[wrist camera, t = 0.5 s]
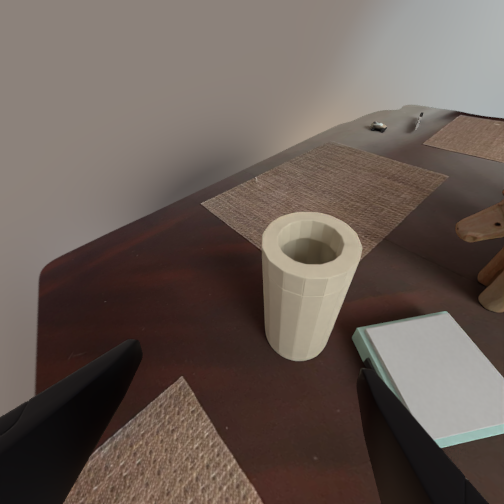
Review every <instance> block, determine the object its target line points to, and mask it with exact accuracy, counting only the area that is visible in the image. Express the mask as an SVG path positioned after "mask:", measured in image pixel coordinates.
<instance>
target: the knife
mask: <svg viewBox="0 0 504 504" xmlns="http://www.w3.org/2000/svg"><path fill="white" fill-rule="evenodd" d="M422 116H423V113H421V114H420V117H419V119H418V122H417V124H416V128H415V130H417V127H418V126H419V123H420V121H421V118H422Z"/></svg>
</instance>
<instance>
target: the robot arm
mask: <svg viewBox="0 0 504 504" xmlns="http://www.w3.org/2000/svg"><path fill="white" fill-rule="evenodd" d="M142 356H143V353H142V349H141V346H140V342H139V341H138V340H134V339H128V340H126V341H125V342H123V343H121V344H120V345H118V346H116V347H115V348H113V349H111V350H110V351H108V352H107V353H105V354H103V355H102V356H100V357H98V358H97V359H95V360H93V361H92V362H90V363H89V364H87V365H85V366H84V367H82V368H80V369H79V370H77V371H76V372H74V373H72V374H71V375H69V376H67V377H66V378H64V379H62V380H61V381H59V382H58V383H56V384H54V385H53V386H51V387H49V388H48V389H46V390H44V391H43V392H41V393H40V394H38V395H36V396H35V397H33V398H31V399H30V400H29V401H27V402H25V403H23V404H21V405H20V406H18V407H17V408H15V409H13V410H12V411H10V412H8V413H7V414H5V415H3V416H2V417H0V504H63V502H64V501H65V499H66V497H67V495H68V494H69V492H70V490H71V488H72V487H73V485H74V483H75V482H76V480H77V478H78V476H79V475H80V473H81V471H82V469H83V468H84V466H85V464H86V462H87V461H88V459H89V457H90V456H91V454H92V452H93V450H94V449H95V447H96V445H97V443H98V442H99V440H100V438H101V436H102V435H103V433H104V431H105V429H106V428H107V426H108V424H109V423H110V421H111V419H112V417H113V416H114V414H115V412H116V410H117V409H118V407H119V405H120V403H121V402H122V400H123V398H124V396H125V394H126V392H127V390H128V388H129V386H130V384H131V382H132V379H133V377H134V375H135V373H136V371H137V369H138V366H139V364H140V362H141V360H142ZM357 393H358V400H359V406H360V413H361V419H362V426H363V432H364V437H365V441H366V445H367V449H368V453H369V457H370V461H371V465H372V469H373V473H374V477H375V481H376V484H377V488H378V492H379V496H380V500H381V504H489V503H488V502H487V501H486V500H485V499H484V498H483V497H482V496H481V494H480V493H479V492H478V491H477V490H476V489H475V487H474V486H473V485H472V484H471V483H470V482H469V480H467V479H465V476H464V475H463V474H462V472H461V471H460V470H459V469H458V468H457V467H456V465H455V464H454V463H453V462H452V461H451V460H450V458H449V457H448V456H447V455H446V454H445V453H444V451H443V450H442V449H441V448H440V447H439V446H438V444H437V443H436V442H435V441H434V440H433V439H432V437H431V436H430V435H429V434H428V433H427V432H426V430H425V429H424V428H423V427H422V426H421V425H420V423H419V422H418V421H417V420H416V419H415V418H414V416H413V415H412V414H411V413H410V412H409V411H408V409H407V408H406V407H405V406H404V405H403V404H402V402H401V401H400V400H399V399H398V398H397V397H396V395H395V394H394V393H393V392H392V391H391V390H390V388H389V387H388V386H387V385H386V384H385V383H384V381H383V380H382V379H381V378H380V377H379V376H378V374H377V373H376V372H375V371H374V370H372V369H367V368H362V369H361V370H360V373H359V377H358V380H357Z"/></svg>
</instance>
